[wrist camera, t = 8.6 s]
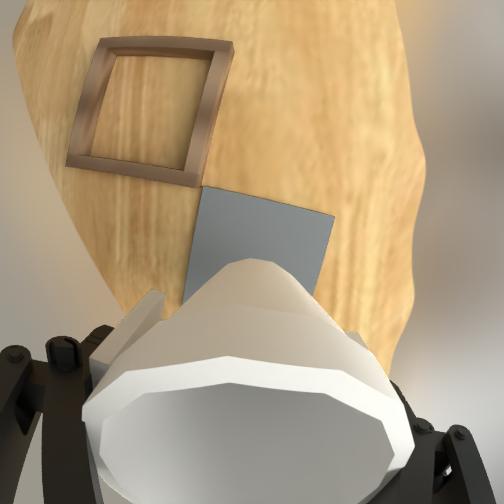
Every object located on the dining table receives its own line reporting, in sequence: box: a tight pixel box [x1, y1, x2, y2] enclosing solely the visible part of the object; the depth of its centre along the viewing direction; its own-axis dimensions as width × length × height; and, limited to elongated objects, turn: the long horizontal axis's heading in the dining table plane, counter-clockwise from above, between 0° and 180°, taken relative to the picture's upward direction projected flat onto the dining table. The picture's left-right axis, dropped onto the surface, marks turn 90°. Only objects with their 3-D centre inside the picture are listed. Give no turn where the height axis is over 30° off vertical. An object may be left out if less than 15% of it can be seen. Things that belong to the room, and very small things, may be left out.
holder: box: [66, 36, 234, 188], centre depth 23 cm, size 13×13×2 cm
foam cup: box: [82, 258, 415, 504], centre depth 12 cm, size 10×9×13 cm
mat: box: [182, 186, 335, 305], centre depth 27 cm, size 12×12×1 cm
